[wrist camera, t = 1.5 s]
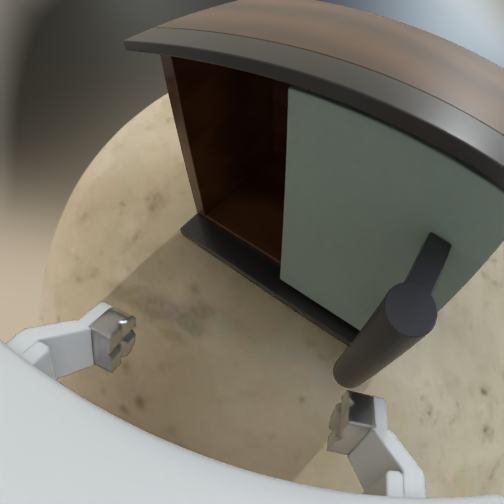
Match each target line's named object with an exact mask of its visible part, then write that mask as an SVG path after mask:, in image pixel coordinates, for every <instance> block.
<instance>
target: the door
mask: <svg viewBox="0 0 504 504" xmlns="http://www.w3.org/2000/svg"><path fill="white" fill-rule="evenodd" d="M503 241H504V187H502V186H501V185H499V184H498V183H496V182H495V181H493V180H492V179H490V178H489V177H487V176H486V175H484V174H483V173H481V172H480V171H478V170H476V169H475V168H473V167H472V166H470V165H468V164H467V163H465V162H463V161H462V160H460V159H458V158H456V157H455V156H453V155H451V154H449V153H448V152H446V151H444V150H442V149H441V148H439V147H437V146H435V145H433V144H431V143H429V142H428V141H426V140H424V139H422V138H420V137H418V136H416V135H414V134H412V133H410V132H408V131H406V130H404V129H402V128H400V127H397V126H395V125H393V124H391V123H389V122H387V121H385V120H382V119H380V118H378V117H376V116H373V115H371V114H369V113H366V112H364V111H362V110H359V109H357V108H354V107H352V106H349V105H347V104H344V103H342V102H339V101H337V100H334V99H331V98H329V97H326V96H323V95H320V94H317V93H315V92H312V91H309V90H306V89H303V88H300V87H297V86H294V85H293V86H291V87H289V89H288V119H287V149H286V174H285V197H284V217H283V236H282V253H281V269H280V279H281V280H282V281H284V282H285V283H287V284H288V285H290V286H292V287H293V288H295V289H296V290H298V291H299V292H301V293H302V294H304V295H305V296H307V297H309V298H310V299H312V300H313V301H315V302H316V303H318V304H319V305H321V306H322V307H324V308H326V309H327V310H329V311H330V312H332V313H333V314H335V315H336V316H338V317H340V318H341V319H343V320H344V321H346V322H347V323H349V324H350V325H352V326H354V327H355V328H357V329H358V330H360V332H359V333H358V335H357V336H356V337H355V339H354V340H353V341H352V342H351V344H350V345H349V346H348V348H347V349H346V350H345V351H344V353H343V354H342V355H341V357H340V358H339V359H338V360H337V362H336V363H335V365H334V369H333V374H334V378H335V380H336V381H337V382H338V383H339V384H340V385H341V386H343V387H346V388H354V387H357V386H359V385H360V384H362V383H363V382H365V381H366V380H368V379H369V378H371V377H372V376H373V375H375V374H376V373H378V372H379V371H380V370H382V369H383V368H384V367H386V366H387V365H389V364H390V363H391V362H393V361H394V360H395V359H397V358H398V357H399V356H400V355H402V354H403V353H404V352H406V351H407V350H408V349H409V348H411V347H412V346H413V345H414V344H416V343H417V342H418V341H419V340H421V339H422V338H423V337H424V336H425V335H427V334H428V333H429V332H430V331H431V330H432V329H433V327H434V325H435V323H436V319H437V312H438V311H439V310H440V309H441V308H443V307H444V306H445V305H446V304H447V303H448V302H449V301H450V300H451V299H452V298H453V297H454V296H455V295H456V294H457V292H458V291H459V290H460V289H461V288H462V287H463V286H464V285H465V284H466V283H467V282H468V281H469V280H470V279H471V278H472V277H473V276H474V274H475V273H476V272H477V271H478V270H479V269H480V268H481V267H482V266H483V264H484V263H485V262H486V261H487V260H488V259H489V258H490V256H491V255H492V254H493V253H494V252H495V250H496V249H497V248H498V247H499V246H500V244H501V243H502V242H503Z"/></svg>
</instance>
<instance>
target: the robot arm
mask: <svg viewBox="0 0 504 504" xmlns="http://www.w3.org/2000/svg"><path fill="white" fill-rule="evenodd" d="M135 326H136V318H135V317H134V316H131V315H129V314H127V313H125V312H123V311H121V310H119V309H117V308H115V307H112V306H110V305H108V304H106V303H104V302H101V303H99V304H98V305H96V306H95V307H94V308H93V309H91V310H90V311H89V312H88V313H87V314H85V315H84V316H83V317H82V318H80V319H79V320H78V321H76V320H70V321H65V322H60V323H54V324H49V325H43V326H37V327H32V328H26V329H23V330H22V331H21V332H19V333H18V334H17V335H16V336H14V337H13V338H12V339H11V340H9V341H8V342H7V343H4V342H3V341H1V340H0V504H504V497H503V496H502V495H499V494H490V495H482V496H470V497H450V498H426V488H425V478H424V472H423V471H422V470H421V468H420V467H419V466H418V465H417V463H416V462H415V461H414V459H413V458H412V457H411V455H410V454H409V453H408V452H407V450H406V449H405V448H404V446H403V445H402V444H401V443H400V441H399V440H398V439H397V437H396V436H395V435H394V433H393V432H392V431H389V430H388V420H387V411H386V403H385V399H384V398H380V397H375V396H370V395H365V394H361V393H357V392H352V391H348V390H347V391H346V392H345V393H344V394H343V396H342V402H341V403H339V404H337V405H336V407H335V408H334V410H333V412H332V415H331V418H330V422H329V428H330V430H331V431H332V432H331V433H330V435H329V436H328V445H327V451H331V452H336V453H340V454H345V455H348V458H349V460H350V462H351V464H352V466H353V468H354V470H355V472H356V474H357V476H358V478H359V480H360V483H361V485H362V487H363V489H364V492H363V493H362V494H360V493H352V492H345V491H338V490H332V489H326V488H320V487H315V486H310V485H305V484H300V483H295V482H291V481H287V480H283V479H278V478H274V477H271V476H267V475H263V474H259V473H256V472H252V471H249V470H246V469H242V468H239V467H236V466H233V465H230V464H227V463H224V462H221V461H218V460H215V459H212V458H209V457H206V456H204V455H201V454H198V453H196V452H193V451H190V450H188V449H185V448H183V447H180V446H178V445H176V444H173V443H171V442H168V441H166V440H164V439H162V438H159V437H157V436H155V435H153V434H151V433H148V432H146V431H144V430H142V429H140V428H138V427H136V426H134V425H132V424H130V423H128V422H126V421H124V420H122V419H120V418H118V417H116V416H114V415H113V414H111V413H109V412H107V411H105V410H103V409H102V408H100V407H98V406H96V405H95V404H93V403H91V402H89V401H88V400H86V399H84V398H83V397H81V396H79V395H78V394H76V393H74V392H73V391H71V390H70V389H68V388H66V387H65V386H63V385H62V384H60V383H59V382H57V380H56V379H58V378H61V377H64V376H67V375H69V374H72V373H75V372H77V371H80V370H83V369H85V368H88V367H91V366H93V365H94V364H95V365H97V366H99V367H101V368H103V369H105V370H107V371H109V372H111V373H113V372H114V371H115V370H116V368H117V367H118V366H119V365H120V364H121V358H122V357H126V356H128V354H129V353H130V352H131V350H132V348H133V346H134V343H135V337H136V334H135V333H134V331H133V328H134V327H135Z"/></svg>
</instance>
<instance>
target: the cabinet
mask: <svg viewBox="0 0 504 504" xmlns="http://www.w3.org/2000/svg"><path fill="white" fill-rule="evenodd" d="M124 45H125V49H126V50H130V51H139V52H147V53H155V54H160V56H161V61H162V65H163V70H164V75H165V80H166V84H167V89H168V94H169V98H170V103H171V107H172V111H173V116H174V120H175V124H176V129H177V133H178V137H179V141H180V145H181V150H182V154H183V158H184V162H185V166H186V170H187V174H188V178H189V182H190V186H191V190H192V194H193V197H194V201H195V205H196V209H197V213H198V214H196V215H195V216H194V217H193V218H192V219H191V220H189V221H188V222H187V223H186V224H185V225H184V226H183V227H182V228H181V229H180V230H181V233H182V234H184V235H185V236H186V237H188V238H189V239H191V240H192V241H194V242H195V243H197V244H198V245H199V246H201V247H202V248H204V249H205V250H207V251H208V252H209V253H211V254H212V255H214V256H215V257H217V258H218V259H220V260H221V261H223V262H224V263H225V264H227V265H228V266H230V267H231V268H233V269H234V270H236V271H237V272H239V273H240V274H241V275H243V276H244V277H246V278H247V279H249V280H250V281H252V282H253V283H255V284H256V285H258V286H259V287H261V288H262V289H264V290H265V291H267V292H268V293H269V294H271V295H272V296H274V297H275V298H277V299H278V300H280V301H281V302H283V303H284V304H286V305H287V306H289V307H290V308H292V309H293V310H295V311H296V312H298V313H299V314H301V315H302V316H304V317H305V318H307V319H308V320H310V321H311V322H313V323H314V324H316V325H318V326H319V327H321V328H322V329H324V330H325V331H327V332H328V333H330V334H331V335H333V336H334V337H336V338H337V339H339V340H340V341H342V342H343V343H345V344H347V345H348V346H349V345H350V344H351V342H352V341H353V340H354V339H355V337H356V336H357V335H358V333H359V332H360V330H358V329H357V328H355V327H354V326H352V325H350V324H349V323H347V322H346V321H344V320H343V319H341V318H340V317H338V316H336V315H335V314H333V313H332V312H330V311H329V310H327V309H326V308H324V307H322V306H321V305H319V304H318V303H316V302H315V301H313V300H312V299H310V298H309V297H307V296H305V295H304V294H302V293H301V292H299V291H298V290H296V289H295V288H293V287H292V286H290V285H288V284H287V283H285V282H284V281H282V280H281V279H280V269H281V253H282V236H283V217H284V197H285V174H286V149H287V119H288V89H289V87H291V86H293V85H294V86H297V87H300V88H303V89H306V90H309V91H312V92H315V93H317V94H320V95H323V96H326V97H329V98H331V99H334V100H337V101H339V102H342V103H344V104H347V105H349V106H352V107H354V108H357V109H359V110H362V111H364V112H366V113H369V114H371V115H373V116H376V117H378V118H380V119H382V120H385V121H387V122H389V123H391V124H393V125H395V126H397V127H400V128H402V129H404V130H406V131H408V132H410V133H412V134H414V135H416V136H418V137H420V138H422V139H424V140H426V141H428V142H429V143H431V144H433V145H435V146H437V147H439V148H441V149H442V150H444V151H446V152H448V153H449V154H451V155H453V156H455V157H456V158H458V159H460V160H462V161H463V162H465V163H467V164H468V165H470V166H472V167H473V168H475V169H476V170H478V171H480V172H481V173H483V174H484V175H486V176H487V177H489V178H490V179H492V180H493V181H495V182H496V183H498V184H499V185H501V186H502V187H504V68H502V67H500V66H498V65H497V64H495V63H493V62H491V61H489V60H488V59H486V58H484V57H482V56H480V55H478V54H476V53H474V52H472V51H470V50H468V49H466V48H464V47H462V46H459V45H457V44H455V43H453V42H451V41H448V40H446V39H444V38H441V37H439V36H437V35H434V34H431V33H429V32H426V31H424V30H421V29H419V28H416V27H413V26H410V25H407V24H405V23H402V22H399V21H395V20H392V19H389V18H386V17H383V16H379V15H376V14H372V13H369V12H365V11H361V10H357V9H353V8H349V7H345V6H340V5H336V4H331V3H326V2H321V1H315V0H238V1H235V2H231V3H227V4H223V5H219V6H216V7H212V8H209V9H206V10H202V11H199V12H196V13H193V14H190V15H187V16H184V17H181V18H178V19H175V20H172V21H170V22H167V23H164V24H162V25H159V26H157V27H155V28H152V29H149V30H147V31H144V32H142V33H140V34H137V35H135V36H133V37H131V38H128V39H126V40H124Z"/></svg>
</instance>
